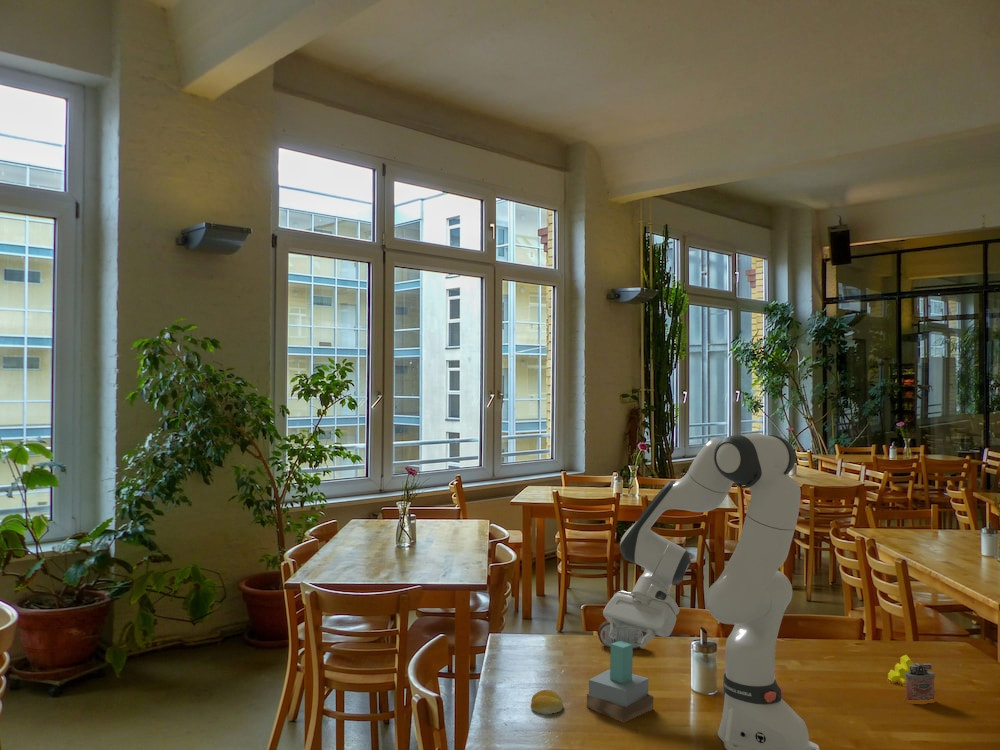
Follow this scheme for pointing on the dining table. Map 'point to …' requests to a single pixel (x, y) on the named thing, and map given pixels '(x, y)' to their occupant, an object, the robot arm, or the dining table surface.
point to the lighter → (920, 682)
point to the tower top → (618, 689)
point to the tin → (620, 635)
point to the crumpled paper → (900, 669)
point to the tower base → (621, 707)
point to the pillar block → (621, 662)
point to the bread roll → (546, 702)
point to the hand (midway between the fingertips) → (625, 641)
